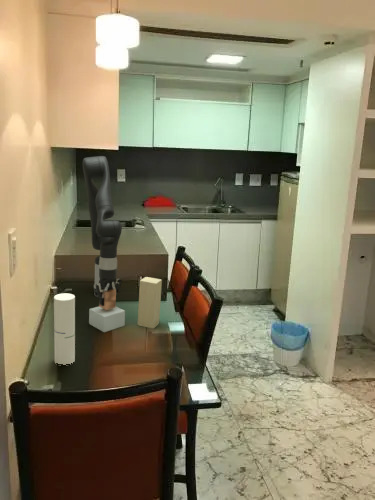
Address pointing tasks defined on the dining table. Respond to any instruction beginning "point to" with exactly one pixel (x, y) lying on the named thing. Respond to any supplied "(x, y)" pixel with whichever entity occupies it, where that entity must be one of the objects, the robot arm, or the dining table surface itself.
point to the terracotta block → (109, 299)
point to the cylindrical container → (64, 328)
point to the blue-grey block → (106, 318)
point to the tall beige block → (149, 302)
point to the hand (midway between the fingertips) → (107, 303)
